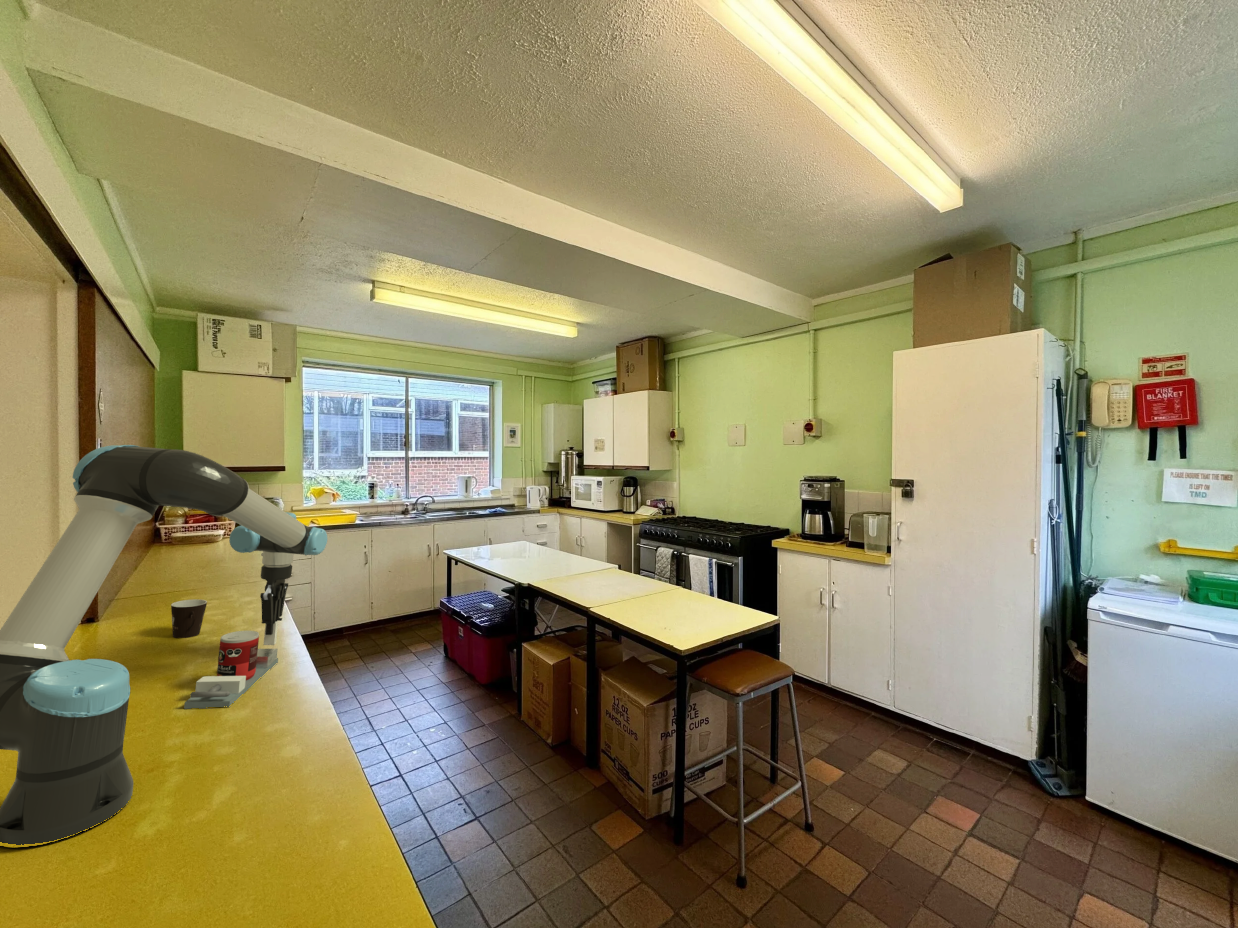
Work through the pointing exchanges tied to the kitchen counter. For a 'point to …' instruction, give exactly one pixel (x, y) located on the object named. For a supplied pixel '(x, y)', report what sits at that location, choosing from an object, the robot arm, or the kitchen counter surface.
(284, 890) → the kitchen counter surface
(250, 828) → the kitchen counter surface
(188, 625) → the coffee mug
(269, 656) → the block
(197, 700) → the vise base
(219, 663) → the canned food
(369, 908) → the kitchen counter surface
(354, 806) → the kitchen counter surface
